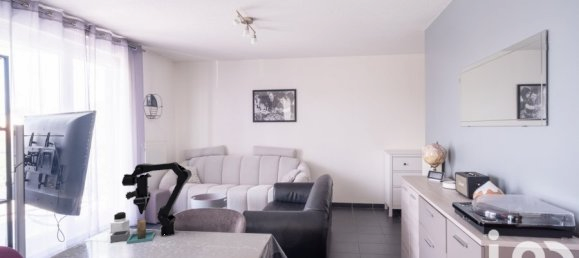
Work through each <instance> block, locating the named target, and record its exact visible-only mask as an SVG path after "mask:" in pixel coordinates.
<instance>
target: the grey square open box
mask: <svg viewBox="0 0 579 258" xmlns="http://www.w3.org/2000/svg"><path fill="white" fill-rule="evenodd" d="M130 236H131V231H130V229H129V230H126V231H117V232H114V233H111V235H110V244H114V243H115V244H116V243H121V242H127V240H128V239H129V237H130Z"/></svg>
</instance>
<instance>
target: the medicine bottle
mask: <svg viewBox="0 0 579 258" xmlns="http://www.w3.org/2000/svg"><path fill="white" fill-rule="evenodd" d="M126 215H127V213H126V212H124V211H120V212H119V211H118V212H116V213H114V215H113V221H111V222H110V234H113V233H114V232H117V231H126V230H130V219H128V218H127V216H126Z"/></svg>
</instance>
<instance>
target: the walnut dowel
mask: <svg viewBox="0 0 579 258" xmlns="http://www.w3.org/2000/svg"><path fill="white" fill-rule="evenodd" d="M146 222H147V221H146V219H145V218H142V219H138V220H137V221H136V223H137V224H136V226H137V228H136V229H137V233H138V239H145V238H146V232H147V231H146V229H147V228H146V224H147V223H146Z"/></svg>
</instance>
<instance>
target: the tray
mask: <svg viewBox="0 0 579 258" xmlns="http://www.w3.org/2000/svg"><path fill="white" fill-rule="evenodd" d="M155 235H156V231H146V238H145V239H138V233H136V232H135V233H130V237H129V238H128V240H127V241H126V245H131V244H139V243H147V242H148V243H149V242H153V240H154V239H155V238H154V237H155Z"/></svg>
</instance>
